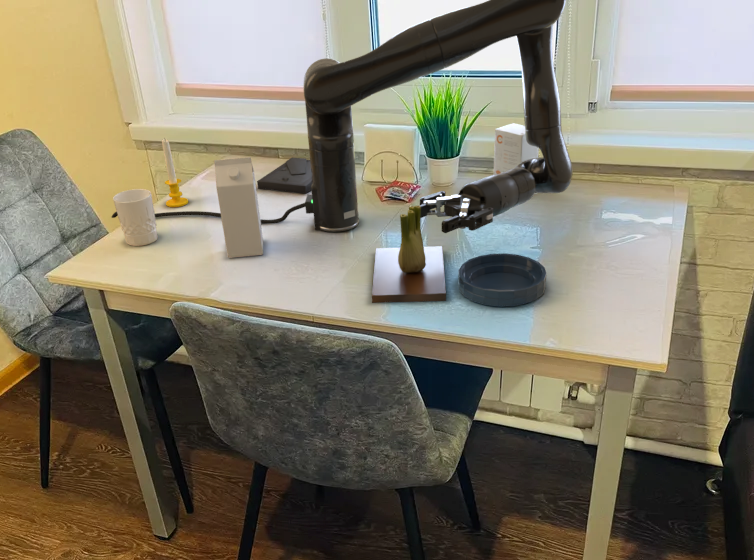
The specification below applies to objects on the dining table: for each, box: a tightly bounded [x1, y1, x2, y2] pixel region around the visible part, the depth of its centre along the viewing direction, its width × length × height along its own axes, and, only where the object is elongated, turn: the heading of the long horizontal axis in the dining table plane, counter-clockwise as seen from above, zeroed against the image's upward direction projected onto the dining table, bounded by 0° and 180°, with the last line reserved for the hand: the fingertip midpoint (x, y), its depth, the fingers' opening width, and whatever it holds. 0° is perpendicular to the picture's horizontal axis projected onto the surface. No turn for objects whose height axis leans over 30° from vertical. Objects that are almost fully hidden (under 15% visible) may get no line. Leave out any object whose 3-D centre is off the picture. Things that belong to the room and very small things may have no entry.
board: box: [371, 245, 447, 304], centre depth 146 cm, size 13×20×2 cm, turn 176°
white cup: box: [112, 188, 159, 247], centre depth 166 cm, size 8×8×10 cm
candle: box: [161, 138, 189, 208], centre depth 182 cm, size 5×5×16 cm
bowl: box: [457, 253, 548, 307], centre depth 139 cm, size 15×15×3 cm
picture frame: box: [256, 157, 312, 195], centre depth 194 cm, size 13×2×18 cm
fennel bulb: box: [398, 205, 426, 273], centre depth 142 cm, size 6×5×12 cm
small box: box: [492, 122, 540, 175], centre depth 179 cm, size 8×6×13 cm
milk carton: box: [213, 156, 264, 259], centre depth 156 cm, size 7×7×19 cm
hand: (426, 221), depth 142 cm, fingers open, 8 cm apart
